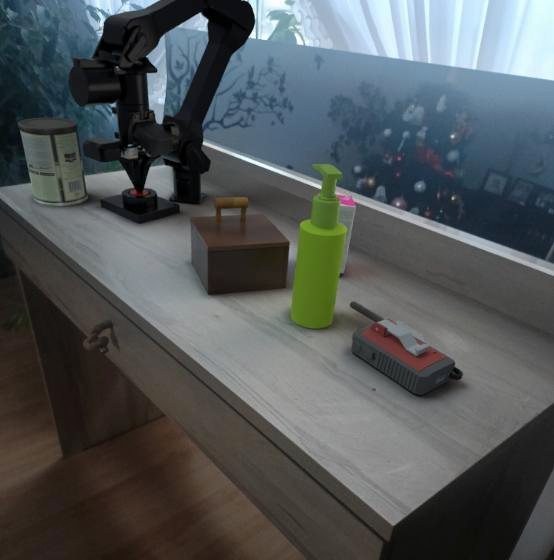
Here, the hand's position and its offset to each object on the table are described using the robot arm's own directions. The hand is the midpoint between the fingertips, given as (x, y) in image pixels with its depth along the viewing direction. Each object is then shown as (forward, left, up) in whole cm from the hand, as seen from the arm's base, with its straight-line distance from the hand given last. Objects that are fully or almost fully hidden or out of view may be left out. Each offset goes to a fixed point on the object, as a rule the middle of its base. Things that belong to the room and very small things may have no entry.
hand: (139, 192), depth 99 cm
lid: (+24, +23, +3) cm, 33 cm away
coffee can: (-2, -17, -4) cm, 18 cm away
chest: (+25, +23, -4) cm, 34 cm away
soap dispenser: (+35, +35, -4) cm, 50 cm away
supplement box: (+18, +37, -4) cm, 41 cm away
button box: (0, 0, -4) cm, 4 cm away
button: (0, 0, -2) cm, 2 cm away
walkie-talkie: (+42, +45, -4) cm, 62 cm away
